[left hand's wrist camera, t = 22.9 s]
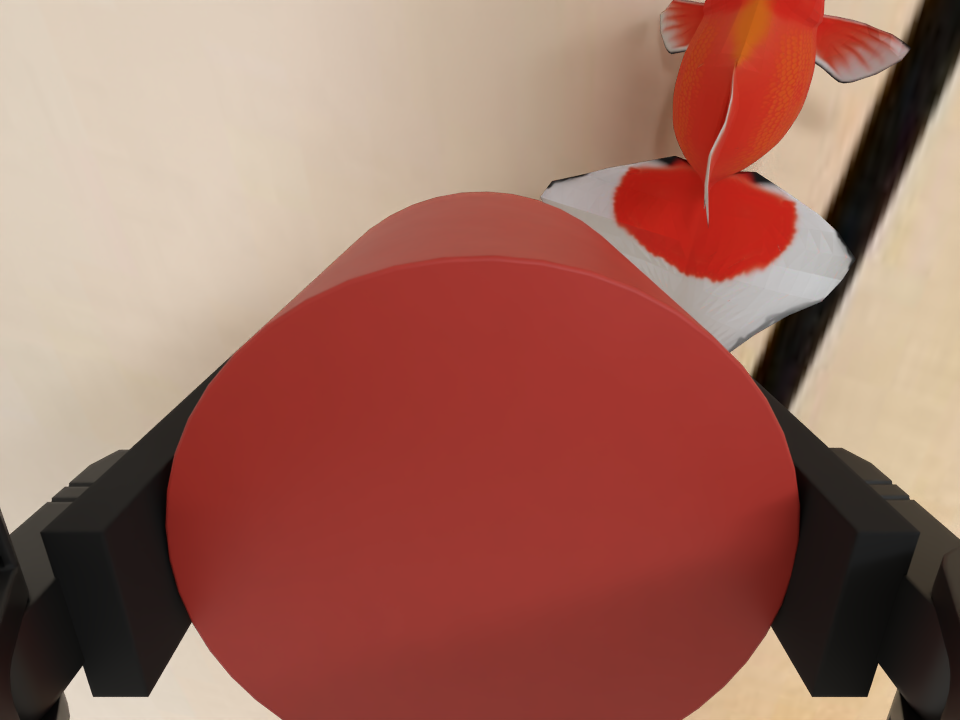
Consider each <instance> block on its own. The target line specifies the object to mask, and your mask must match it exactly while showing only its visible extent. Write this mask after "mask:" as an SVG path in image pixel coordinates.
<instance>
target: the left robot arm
mask: <svg viewBox="0 0 960 720" xmlns="http://www.w3.org/2000/svg"><path fill="white" fill-rule="evenodd" d="M239 349H240V348H239ZM239 349H238V350H239ZM232 356H233V355H232ZM232 356H231V357H232ZM231 357H230V358H231ZM230 358H229V359H230ZM229 359H228V360H229ZM228 360H226V361H225V362H224V363H223V364H222V365H221V366H220V367H219V368H218V369H217V370H216V371H215V372H213V373H212V374H211V375H210V376H209V377H208V378H207V379H206V380H205V381H204V382H203V383H202V384H200V385H199V386H198V387H197V388H196V389H195V390H194V391H193V392H192V393H191V394H190V395H188V396H187V397H186V398H185V399H184V400H183V401H182V402H181V403H180V404H179V405H178V406H177V407H175V408H174V409H173V410H172V411H171V412H170V413H169V414H168V415H167V416H166V417H165V418H164V419H162V420H161V421H160V422H159V423H158V424H157V425H156V426H155V427H154V428H153V429H152V430H150V431H149V432H148V433H147V434H146V435H145V436H144V437H143V438H142V439H141V440H140V441H139V442H137V443H136V444H135V445H134V446H133V447H132V448H131V449H130V450H118V451H116V452H114V453H112V454H110V455H108V456H107V457H105V458H103V459H101V460H99V461H97V462H95V463H93V464H91V465H90V466H88V467H87V468H86V469H85V470H84V471H83V472H82V473H80V474H79V475H78V476H77V477H76V478H75V479H73V480H72V481H71V482H70V483H69V487H64V488H63V489H62V490H61V491H60V492H58V493H57V494H56V495H55V496H54V497H53V498H52V502H47V503H46V504H45V505H43V506H42V507H41V508H40V509H39V510H38V511H37V512H35V513H34V514H33V515H32V516H31V517H30V518H28V519H27V520H26V521H25V522H24V523H23V524H22V525H20V526H19V527H18V528H17V529H16V530H15V531H13V532H12V533H11V534H10V535H9V532H8V529H7V526H6V524H5V521H4V518H3V515H2V512H1V509H0V720H69V719H70V714H69V708H68V703H67V700H66V697H65V694H64V690H65V689H66V687H67V686H68V685H69V683H70V682H71V681H72V679H73V678H74V676H75V675H76V674H77V672H78V671H79V670H80V668H81V667H82V666H83V667H84V670H85V673H86V676H87V680H88V683H89V686H90V689H91V692H92V695H93V697H148V696H149V695H150V693H151V691H152V690H153V688H154V686H155V684H156V683H157V681H158V679H159V678H160V676H161V674H162V672H163V671H164V669H165V667H166V666H167V664H168V662H169V660H170V659H171V657H172V655H173V653H174V652H175V650H176V648H177V647H178V645H179V643H180V641H181V640H182V638H183V636H184V635H185V633H186V631H187V629H188V628H189V626H190V624H191V623H192V621H191V619H190V617H189V614H188V612H187V610H186V608H185V606H184V603H183V601H182V599H181V597H180V594H179V592H178V589H177V585H176V581H175V578H174V574H173V571H172V567H171V564H170V560H169V552H168V543H167V535H166V526H165V525H166V502H167V487H168V483H169V478H170V473H171V468H172V464H173V459H174V454H175V451H176V449H177V446H178V444H179V441H180V439H181V436H182V433H183V431H184V428H185V426H186V423H187V421H188V418H189V417H190V415H191V413H192V411H193V410H194V408H195V406H196V405H197V403H198V401H199V400H200V398H201V396H202V395H203V393H204V391H205V390H206V388H207V386H208V385H209V383H210V382H211V381H212V380H213V379H214V377H215V376H216V375H217V374H218V373H219V371H220V370H221V369H222V368H223V366H224V365H225V364H226V363H227V362H228ZM751 378H752V377H751ZM752 379H753V380H754V382H755V383H756V385H757V386H758V387H759V389H760V390H761V392H762V393H763V394H764V396H765V397H766V398H767V400H768V402H769V404H770V406H771V408H772V410H773V412H774V414H775V416H776V418H777V420H778V422H779V424H780V426H781V428H782V430H783V432H784V435H785V438H786V441H787V445H788V448H789V451H790V454H791V457H792V461H793V464H794V467H795V473H796V480H797V488H798V495H799V502H800V522H799V542H798V547H797V551H796V556H795V560H794V565H793V569H792V574H791V577H790V581H789V585H788V589H787V591H786V594H785V597H784V600H783V603H782V605H781V607H780V609H779V611H778V613H777V615H776V617H775V619H774V621H773V623H772V625H771V627H772V629H773V630H774V632H775V634H776V636H777V637H778V639H779V641H780V642H781V644H782V646H783V648H784V649H785V651H786V653H787V655H788V656H789V658H790V660H791V661H792V663H793V665H794V667H795V668H796V670H797V672H798V673H799V675H800V677H801V679H802V680H803V682H804V684H805V685H806V687H807V689H808V691H809V692H810V694H811V696H812V697H868V693H869V690H870V687H871V684H872V681H873V678H874V675H875V672H876V669H877V666H878V663H879V664H880V666H881V667H882V669H883V670H884V671H885V673H886V674H887V675H888V677H889V678H890V679H891V681H892V682H893V683H894V685H895V686H896V687H897V691H896V694H895V697H894V700H893V703H892V706H891V708H890V711H889V714H888V717H887V720H960V539H959V538H958V537H956V536H955V535H954V534H953V533H952V532H951V531H949V530H948V529H947V528H946V527H945V526H944V525H942V524H941V523H940V522H939V521H938V520H937V519H935V518H934V517H933V516H932V515H931V514H930V513H929V512H927V511H926V510H925V509H924V508H923V507H922V506H920V505H919V504H918V503H917V502H916V501H915V500H910V499H909V495H908V494H906V493H905V492H904V491H903V490H902V489H901V488H899V487H898V486H897V485H892V481H891V480H890V479H889V478H888V477H887V476H886V475H884V474H883V473H882V472H881V471H880V470H879V469H877V468H876V467H875V466H874V465H873V464H872V463H870V462H868V461H866V460H864V459H862V458H860V457H858V456H856V455H855V454H853V453H851V452H849V451H847V450H845V449H843V448H828V447H827V446H826V445H825V444H824V443H823V442H822V441H821V440H820V439H819V438H818V437H816V436H815V435H814V434H813V433H812V432H811V431H810V430H809V429H808V428H807V427H806V426H805V425H803V424H802V423H801V422H800V421H799V420H798V419H797V418H796V417H795V416H794V415H793V414H792V413H790V412H789V411H788V410H787V409H786V408H785V407H784V406H783V405H782V404H781V403H780V402H778V401H777V400H776V399H775V398H774V397H773V396H772V395H771V394H770V393H769V392H768V391H767V390H765V389H764V388H763V387H762V386H761V385H760V384H759V383H758V382H757V381H756V380H755V379H754V378H752Z"/></svg>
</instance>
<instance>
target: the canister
mask: <svg viewBox="0 0 960 720" xmlns="http://www.w3.org/2000/svg"><path fill="white" fill-rule="evenodd" d="M799 522H800V502H799V495H798V488H797V480H796V473H795V467H794V464H793V461H792V457H791V454H790V451H789V448H788V445H787V441H786V438H785V435H784V432H783V430H782V428H781V426H780V424H779V422H778V420H777V418H776V416H775V414H774V412H773V410H772V408H771V406H770V404H769V402H768V400H767V398H766V397H765V396H764V394H763V393H762V392H761V390H760V389H759V387H758V386H757V385H756V383H755V382H754V380H753V379H752V378H751V376H750V375H749V374H748V372H747V371H746V369H745V368H744V367H743V365H742V364H741V363H740V362H739V361H738V360H737V359H736V358H735V357H734V356H733V355H732V354H731V353H730V352H729V351H728V350H727V349H726V348H725V347H724V346H723V345H722V344H721V343H720V342H719V341H718V340H717V339H716V338H715V337H714V336H713V335H712V334H711V333H709V332H708V331H707V330H706V329H705V328H704V327H703V326H702V325H701V324H699V323H698V322H697V321H696V320H695V319H694V318H693V317H692V316H691V315H689V314H688V313H687V312H686V311H685V310H684V309H683V308H682V307H681V306H679V305H678V304H677V303H676V302H675V301H674V300H673V299H672V298H670V297H669V296H668V295H667V294H666V293H665V292H664V291H663V290H662V289H660V288H659V287H658V286H657V285H656V284H655V283H654V282H653V281H652V280H650V279H649V278H648V277H647V276H646V275H645V274H644V273H643V272H642V271H640V270H639V269H638V268H637V267H636V266H635V265H634V264H633V263H632V262H630V261H629V260H628V259H627V258H626V257H625V256H624V255H623V254H622V253H620V252H619V251H618V250H617V249H616V248H615V247H614V246H613V245H612V244H610V243H609V242H608V241H607V240H606V239H605V238H604V237H603V236H602V235H600V234H599V233H598V232H596V231H595V230H594V229H592V228H591V227H590V226H588V225H587V224H586V223H584V222H583V221H581V220H580V219H578V218H576V217H574V216H572V215H571V214H569V213H567V212H565V211H563V210H562V209H559V208H557V207H554V206H552V205H549V204H546V203H544V202H541V201H539V200H535V199H531V198H527V197H522V196H518V195H514V194H506V193H495V192H467V193H457V194H452V195H446V196H440V197H435V198H432V199H429V200H426V201H423V202H420V203H417V204H414V205H411V206H409V207H407V208H405V209H403V210H401V211H399V212H397V213H395V214H393V215H390V216H389V217H387V218H386V219H384V220H383V221H381V222H380V223H378V224H377V225H375V226H374V227H372V228H371V229H369V230H368V231H367V232H366V233H365V234H364V235H363V236H362V237H360V238H359V239H358V240H357V241H356V242H355V243H354V244H353V245H351V246H350V247H349V248H348V249H347V250H346V251H345V252H344V253H343V254H342V255H341V256H339V257H338V258H337V259H336V260H335V261H334V262H333V263H332V264H331V265H330V266H329V267H328V268H326V269H325V270H324V271H323V272H322V273H321V274H320V275H319V276H318V277H317V278H316V279H314V280H313V281H312V282H311V283H310V284H309V285H308V286H307V287H306V288H305V289H304V290H303V291H301V292H300V293H299V294H298V295H297V296H296V297H295V298H294V299H293V300H292V301H291V302H290V303H288V304H287V305H286V306H285V307H284V308H283V309H282V310H281V311H280V312H279V313H278V314H277V315H275V316H274V317H273V318H272V319H271V320H270V321H269V322H268V323H267V324H266V325H265V326H263V327H262V328H261V329H260V330H259V331H258V332H257V333H256V334H255V335H254V336H253V337H252V338H250V339H249V340H248V341H247V342H246V343H245V344H244V345H243V346H242V347H241V348H240V349H239V350H237V351H236V352H235V353H234V354H233V356H232V357H231V358H230V359H229V360H228V362H227V363H226V364H225V365H224V366H223V368H222V369H221V370H220V371H219V373H218V374H217V375H216V376H215V377H214V379H213V380H212V381H211V382H210V383H209V385H208V386H207V388H206V390H205V391H204V393H203V395H202V396H201V398H200V400H199V401H198V403H197V405H196V406H195V408H194V410H193V411H192V413H191V415H190V417H189V418H188V421H187V423H186V426H185V428H184V431H183V433H182V436H181V439H180V441H179V444H178V446H177V449H176V451H175V454H174V459H173V464H172V468H171V473H170V478H169V483H168V487H167V502H166V525H165V526H166V535H167V543H168V552H169V560H170V564H171V567H172V571H173V574H174V578H175V581H176V585H177V589H178V592H179V594H180V597H181V599H182V601H183V603H184V606H185V608H186V610H187V612H188V614H189V617H190V619H191V621H192V623H193V625H194V626H195V628H196V630H197V631H198V633H199V634H200V636H201V638H202V639H203V641H204V642H205V644H206V646H207V647H208V649H209V650H210V652H211V653H212V654H213V655H214V656H215V658H216V659H217V660H218V661H219V663H220V664H221V665H222V666H223V667H224V669H225V670H226V671H227V672H228V673H229V675H230V676H231V677H232V678H233V679H234V680H235V681H236V682H237V683H238V684H239V685H241V686H242V687H243V688H244V689H245V690H246V691H247V692H248V693H249V694H250V695H251V696H252V697H253V698H254V699H255V700H257V701H258V702H259V703H261V704H262V705H263V706H265V707H266V708H267V709H269V710H270V711H271V712H273V713H274V714H275V715H277V716H278V717H279V718H281V719H282V720H682V719H684V718H685V717H687V716H688V715H690V714H691V713H693V712H694V711H696V710H697V709H698V708H700V707H701V706H702V705H703V704H704V703H706V702H707V701H708V700H709V699H710V698H711V697H713V696H714V695H715V694H716V693H717V692H718V691H720V690H721V689H722V688H723V687H724V686H725V685H726V684H727V683H728V682H729V681H730V680H731V679H732V678H733V676H734V675H735V674H736V673H737V672H738V671H739V670H740V669H741V668H742V667H743V666H744V665H745V663H746V662H747V661H748V660H749V658H750V657H751V655H752V654H753V653H754V651H755V650H756V648H757V647H758V646H759V644H760V643H761V641H762V640H763V639H764V637H765V636H766V634H767V632H768V630H769V628H770V626H771V625H772V623H773V621H774V619H775V617H776V615H777V613H778V611H779V609H780V607H781V605H782V603H783V600H784V597H785V594H786V591H787V589H788V585H789V581H790V577H791V574H792V569H793V565H794V560H795V556H796V551H797V547H798V542H799Z"/></svg>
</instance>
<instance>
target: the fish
mask: <svg viewBox="0 0 960 720" xmlns="http://www.w3.org/2000/svg"><path fill="white" fill-rule="evenodd" d="M824 1H825V0H706V1H705V3H699V2H693V1H686V0H673V1H672V2H671V3H670V5H669V6H668V7H667V8H666V10H665V11H664V12H662V13H661V14H660V29H661V35H662V38H663V41H664V44H665V47H666V49H667V51H668V52H669V53H670V54H674V53H679V52H685V51H686V52H685V54H684V57H683V60H682V63H681V66H680V69H679V73H678V76H677V80H676V84H675V90H674V97H673V126H674V131H675V135H676V138H677V141H678V143H679V146H680V148H681V150H682V152H683V154H684V156H685V158H686V159H687V160H685V159H682V158H679V157H677V156H672V157H667V158H661V159H656V160H650V161H645V162H639V163H634V164H629V165H623V166H617V167H611V168H606V169H602V170H599V171H595V172H591V173H587V174H584V175H579V176H574V177H569V178H565V179H560V180H555V181H552V182H551V183H550V185H549V186H548V187H547V189H546V190H545V191H544V193H543V194H542V195H541V199H542V202H544V203H546V204H549V205H552V206H554V207H557V208H559V209H562V210H563V211H565V212H567V213H569V214H571V215H572V216H574V217H576V218H578V219H580V220H581V221H583V222H584V223H586V224H587V225H588V226H590V227H591V228H592V229H594V230H595V231H596V232H598V233H599V234H600V235H602V236H603V237H604V238H605V239H606V240H607V241H608V242H609V243H610V244H612V245H613V246H614V247H615V248H616V249H617V250H618V251H619V252H620V253H622V254H623V255H624V256H625V257H626V258H627V259H628V260H629V261H630V262H632V263H633V264H634V265H635V266H636V267H637V268H638V269H639V270H640V271H642V272H643V273H644V274H645V275H646V276H647V277H648V278H649V279H650V280H652V281H653V282H654V283H655V284H656V285H657V286H658V287H659V288H660V289H662V290H663V291H664V292H665V293H666V294H667V295H668V296H669V297H670V298H672V299H673V300H674V301H675V302H676V303H677V304H678V305H679V306H681V307H682V308H683V309H684V310H685V311H686V312H687V313H688V314H689V315H691V316H692V317H693V318H694V319H695V320H696V321H697V322H698V323H699V324H701V325H702V326H703V327H704V328H705V329H706V330H707V331H708V332H709V333H711V334H712V335H713V336H714V337H715V338H716V339H717V340H718V341H719V342H720V343H721V344H722V345H723V346H724V347H725V348H726V349H727V350H728V351H729V352H731V351H733V350H734V349H735V348H737V347H738V346H740V345H741V344H742V343H744V342H745V341H747V340H748V339H749V338H751V337H752V336H754V335H755V334H757V333H759V332H760V331H762V330H764V329H765V328H767V327H769V326H771V325H772V324H774V323H776V322H777V321H779V320H781V319H782V318H784V317H786V316H788V315H790V314H793V313H795V312H797V311H800V310H802V309H804V308H807V307H809V306H811V305H814V304H816V303H818V302H821V301H822V300H823V299H824V298H825V297H826V296H827V295H828V294H829V293H830V292H831V291H832V290H833V289H834V288H835V287H836V286H837V285H838V284H839V282H840V281H841V280H842V279H843V277H844V276H845V274H846V273H847V271H848V270H849V268H850V267H851V265H852V264H853V262H854V261H855V258H854V256H853V255H852V253H851V252H850V250H849V248H848V247H847V245H846V244H845V242H844V241H843V239H842V237H841V236H840V234H839V233H838V232H837V231H836V230H835V229H834V228H833V227H831V226H830V225H829V224H828V223H827V222H826V221H825V220H824V219H823V218H822V217H821V216H820V215H819V214H817V213H816V212H814V211H813V210H812V209H810V208H809V207H807V206H806V205H805V204H803V203H802V202H800V201H799V200H798V199H796V198H795V197H793V196H792V195H790V194H789V193H787V192H786V191H784V190H783V189H781V188H780V187H778V186H777V185H775V184H773V183H772V182H770V181H769V180H767V179H766V178H764V177H763V176H761V175H760V174H758V173H757V172H743V171H741V170H743V169H745V168H746V167H748V166H749V165H751V164H752V163H754V162H755V161H757V160H758V159H759V158H761V157H762V156H763V155H765V154H766V153H767V152H768V151H770V150H771V149H772V148H773V147H774V146H775V145H776V144H778V143H779V141H780V140H781V139H782V138H783V137H784V135H785V134H786V133H787V131H788V130H789V128H790V127H791V126H792V124H793V122H794V121H795V119H796V118H797V116H798V114H799V113H800V111H801V109H802V107H803V104H804V102H805V99H806V96H807V93H808V90H809V87H810V83H811V80H812V76H813V72H814V67H815V64H817V65H818V66H820V67H821V68H822V69H824V70H825V71H826V72H827V73H828V74H829V75H830V76H831V77H833V78H834V79H835V80H836V81H838V82H840V83H851V82H855V81H858V80H861V79H864V78H867V77H870V76H873V75H876V74H878V73H880V72H881V71H883V70H885V69H887V68H889V67H890V66H892V65H894V64H896V63H898V62H899V61H901V60H902V59H903V58H904V57H905V56H906V55H907V53H908V52H909V51H910V49H911V48H910V47H909V46H908V45H907V44H906V43H904V42H903V41H902V40H900V39H899V38H897V37H896V36H894V35H893V34H890V33H888V32H885V31H882V30H879V29H877V28H874V27H872V26H870V25H868V24H865V23H862V22H858V21H855V20H850V19H846V18H841V17H835V16H830V15H824Z"/></svg>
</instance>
